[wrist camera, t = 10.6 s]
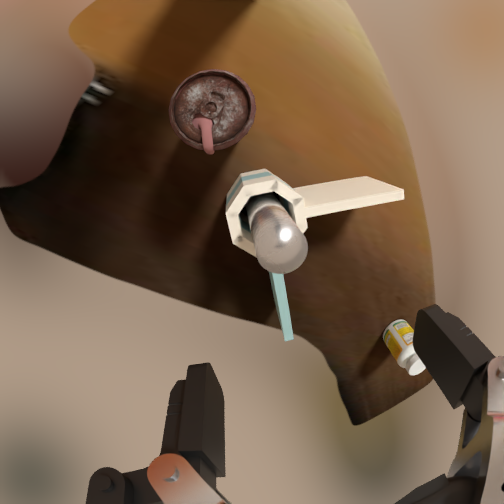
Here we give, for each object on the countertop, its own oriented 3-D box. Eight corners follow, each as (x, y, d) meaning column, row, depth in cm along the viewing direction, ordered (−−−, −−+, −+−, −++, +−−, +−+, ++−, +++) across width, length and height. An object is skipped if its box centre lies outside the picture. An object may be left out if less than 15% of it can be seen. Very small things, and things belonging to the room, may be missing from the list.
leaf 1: (223, 177, 32) (220, 191, 24) (281, 165, 32) (299, 174, 24) (253, 304, 39) (258, 346, 31) (302, 293, 39) (319, 333, 31)
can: (197, 152, 31) (172, 162, 18) (190, 100, 28) (161, 74, 15) (249, 145, 31) (262, 149, 18) (243, 93, 28) (251, 61, 15)
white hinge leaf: (223, 177, 32) (220, 191, 24) (363, 153, 32) (401, 160, 24) (236, 232, 35) (237, 263, 27) (368, 205, 35) (404, 226, 26)
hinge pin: (241, 188, 33) (251, 231, 18) (270, 182, 33) (304, 220, 18) (247, 216, 34) (261, 278, 19) (276, 210, 34) (310, 267, 19)
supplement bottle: (399, 313, 42) (427, 348, 33) (411, 327, 44) (437, 360, 35) (376, 334, 44) (400, 372, 35) (389, 346, 45) (412, 382, 36)
